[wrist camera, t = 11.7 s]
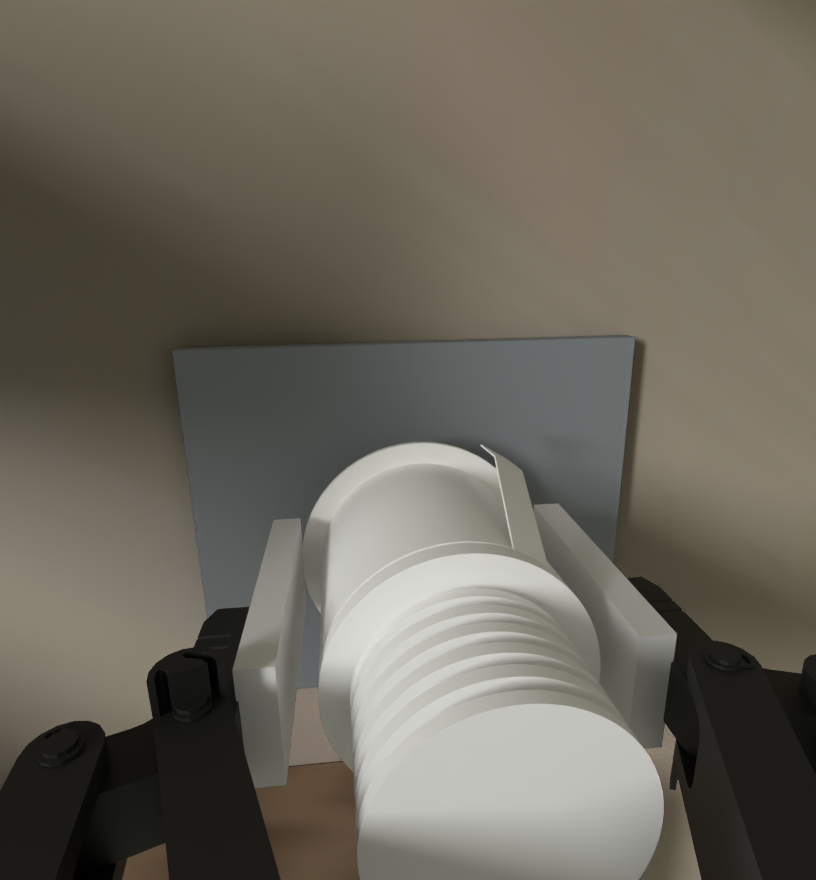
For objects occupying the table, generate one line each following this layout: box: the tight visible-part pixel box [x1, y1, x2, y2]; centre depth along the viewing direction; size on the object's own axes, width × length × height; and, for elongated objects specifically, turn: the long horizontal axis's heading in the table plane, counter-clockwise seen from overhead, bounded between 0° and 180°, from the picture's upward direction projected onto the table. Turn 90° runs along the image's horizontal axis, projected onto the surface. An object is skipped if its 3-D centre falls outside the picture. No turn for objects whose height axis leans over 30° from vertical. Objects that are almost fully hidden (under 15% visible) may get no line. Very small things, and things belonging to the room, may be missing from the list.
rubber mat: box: [172, 335, 635, 689], centre depth 19 cm, size 14×12×1 cm
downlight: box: [302, 442, 664, 880], centre depth 13 cm, size 8×7×10 cm
